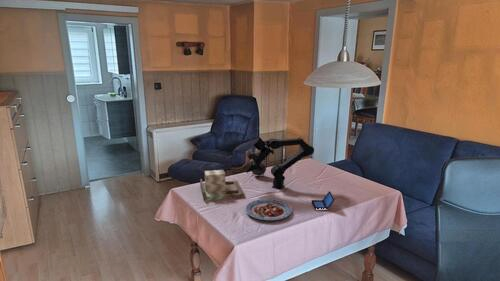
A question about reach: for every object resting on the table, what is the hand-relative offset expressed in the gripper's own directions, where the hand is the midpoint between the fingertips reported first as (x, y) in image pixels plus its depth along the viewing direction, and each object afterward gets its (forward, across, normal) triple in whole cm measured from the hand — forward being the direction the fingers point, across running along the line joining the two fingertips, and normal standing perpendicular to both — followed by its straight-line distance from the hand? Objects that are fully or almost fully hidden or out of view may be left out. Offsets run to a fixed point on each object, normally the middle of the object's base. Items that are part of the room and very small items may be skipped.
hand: (246, 172), depth 208 cm
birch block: (+21, 0, -8) cm, 22 cm away
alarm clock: (-1, -22, +19) cm, 29 cm away
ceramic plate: (+5, +33, +13) cm, 35 cm away
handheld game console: (-18, +32, +36) cm, 52 cm away
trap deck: (+20, 0, -3) cm, 20 cm away
